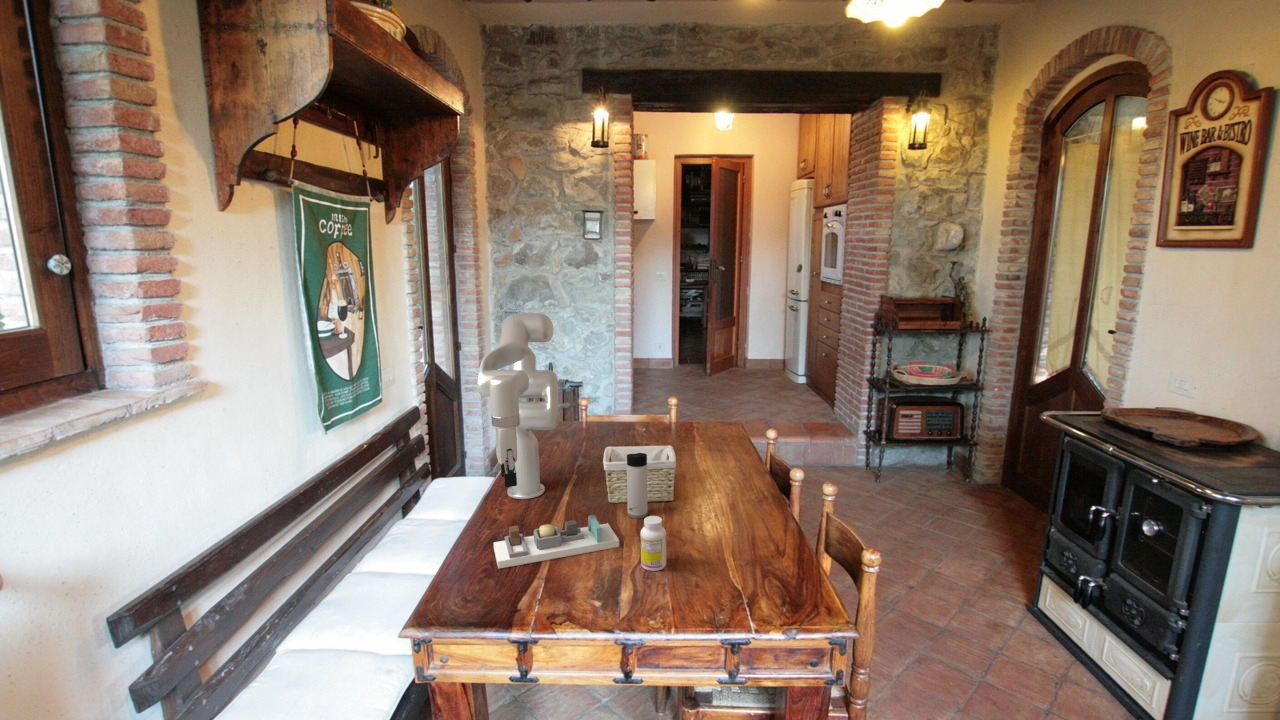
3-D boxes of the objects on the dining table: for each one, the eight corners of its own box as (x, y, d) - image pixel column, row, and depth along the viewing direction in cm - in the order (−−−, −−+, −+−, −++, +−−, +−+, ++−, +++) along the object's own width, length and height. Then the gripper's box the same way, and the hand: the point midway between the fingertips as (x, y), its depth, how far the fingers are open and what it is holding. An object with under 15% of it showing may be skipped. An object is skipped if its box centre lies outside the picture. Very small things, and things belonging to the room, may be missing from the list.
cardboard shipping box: (509, 540, 165) (508, 526, 164) (518, 538, 166) (517, 525, 165) (511, 545, 162) (510, 531, 161) (519, 543, 163) (519, 530, 162)
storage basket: (603, 505, 193) (602, 461, 190) (605, 485, 209) (604, 445, 206) (677, 503, 193) (677, 460, 190) (673, 484, 209) (673, 444, 206)
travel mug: (630, 520, 181) (629, 458, 178) (625, 511, 188) (624, 450, 184) (650, 517, 183) (649, 455, 179) (644, 508, 189) (643, 448, 186)
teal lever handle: (587, 528, 171) (587, 515, 171) (595, 527, 172) (595, 514, 171) (595, 542, 163) (594, 528, 162) (603, 540, 164) (603, 527, 163)
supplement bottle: (651, 556, 160) (651, 511, 158) (671, 564, 156) (671, 518, 154) (635, 566, 155) (635, 520, 153) (655, 575, 151) (655, 527, 149)
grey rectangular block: (565, 534, 168) (564, 521, 167) (575, 533, 169) (575, 520, 168) (567, 538, 165) (566, 525, 165) (577, 536, 166) (577, 523, 166)
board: (493, 549, 165) (492, 527, 164) (608, 529, 176) (607, 509, 174) (498, 568, 155) (496, 545, 153) (619, 546, 165) (618, 525, 164)
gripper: (488, 413, 171) (492, 472, 174) (495, 430, 154) (498, 494, 158) (515, 411, 173) (518, 468, 176) (524, 427, 157) (527, 490, 160)
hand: (509, 480), depth 167 cm, fingers open, 7 cm apart
